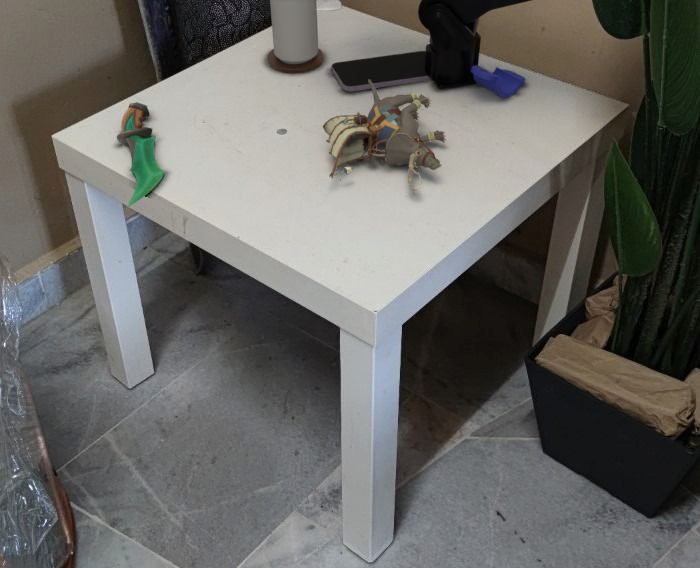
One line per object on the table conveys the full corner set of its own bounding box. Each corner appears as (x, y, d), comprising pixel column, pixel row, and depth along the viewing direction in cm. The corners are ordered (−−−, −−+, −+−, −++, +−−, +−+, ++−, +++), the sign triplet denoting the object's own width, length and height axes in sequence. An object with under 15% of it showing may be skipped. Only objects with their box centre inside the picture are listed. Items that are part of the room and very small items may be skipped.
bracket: (532, 81, 125) (525, 99, 127) (507, 68, 128) (500, 86, 129) (490, 77, 119) (483, 95, 120) (465, 63, 122) (458, 81, 123)
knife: (151, 110, 122) (112, 111, 121) (150, 98, 121) (111, 100, 119) (170, 210, 107) (126, 213, 106) (169, 197, 106) (125, 200, 105)
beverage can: (327, 57, 131) (325, -24, 123) (291, 71, 128) (286, -11, 120) (301, 41, 135) (297, -39, 127) (265, 54, 132) (259, -27, 124)
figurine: (483, 138, 107) (359, 183, 100) (478, 179, 111) (358, 225, 105) (392, 58, 119) (276, 94, 113) (390, 97, 123) (278, 134, 117)
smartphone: (447, 73, 128) (345, 88, 124) (446, 80, 128) (345, 95, 125) (427, 49, 133) (329, 63, 129) (427, 56, 134) (329, 70, 130)
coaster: (315, 43, 136) (315, 39, 135) (329, 68, 130) (329, 64, 130) (262, 50, 134) (262, 47, 134) (274, 76, 129) (274, 73, 128)
